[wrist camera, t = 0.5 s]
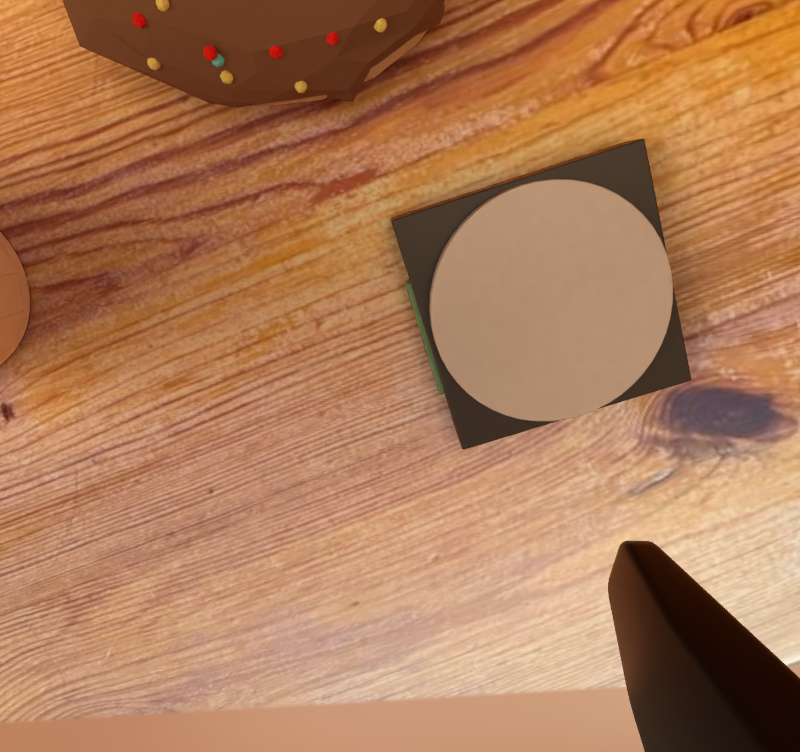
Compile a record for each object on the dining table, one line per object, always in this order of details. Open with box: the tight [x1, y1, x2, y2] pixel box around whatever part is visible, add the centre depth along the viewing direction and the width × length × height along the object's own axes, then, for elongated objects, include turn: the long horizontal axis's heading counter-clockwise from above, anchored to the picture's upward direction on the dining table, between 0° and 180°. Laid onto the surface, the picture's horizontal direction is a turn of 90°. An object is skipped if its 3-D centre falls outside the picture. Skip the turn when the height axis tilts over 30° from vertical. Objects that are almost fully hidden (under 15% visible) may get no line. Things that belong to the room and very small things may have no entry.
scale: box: [391, 139, 691, 449], centre depth 24 cm, size 9×9×2 cm
